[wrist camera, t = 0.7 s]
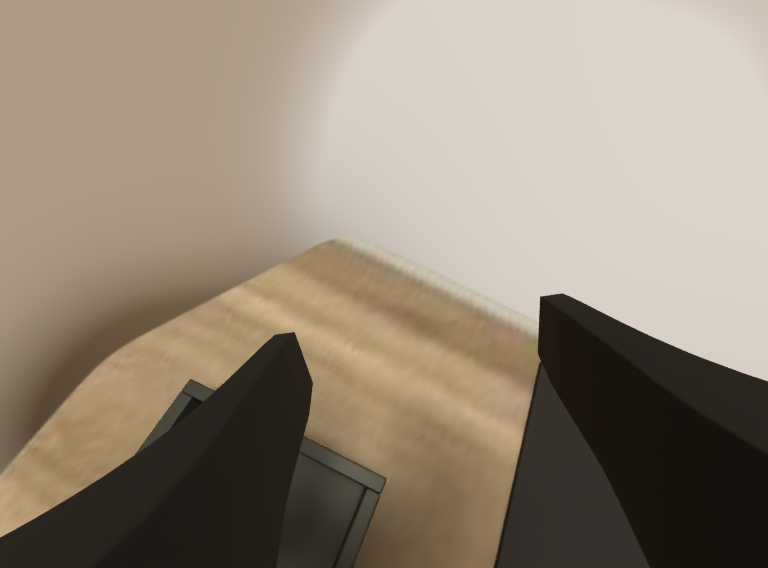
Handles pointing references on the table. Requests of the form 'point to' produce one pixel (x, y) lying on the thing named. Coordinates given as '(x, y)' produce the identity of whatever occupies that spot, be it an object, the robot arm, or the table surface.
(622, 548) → the mat
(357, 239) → the table surface
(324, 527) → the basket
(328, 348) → the table surface
